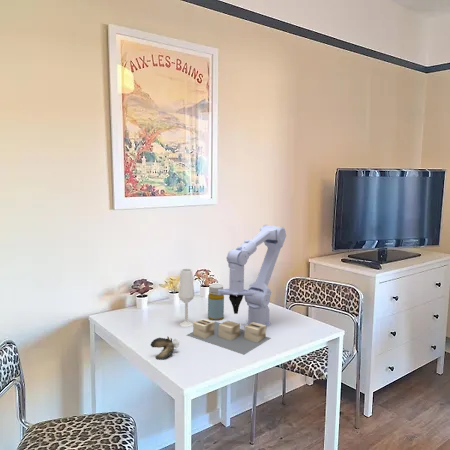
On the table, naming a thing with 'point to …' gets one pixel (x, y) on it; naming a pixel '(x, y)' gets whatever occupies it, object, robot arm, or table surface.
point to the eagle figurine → (166, 344)
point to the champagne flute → (186, 292)
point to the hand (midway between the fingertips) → (236, 313)
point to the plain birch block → (229, 330)
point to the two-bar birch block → (203, 328)
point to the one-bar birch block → (255, 332)
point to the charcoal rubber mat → (231, 341)
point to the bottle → (215, 303)
